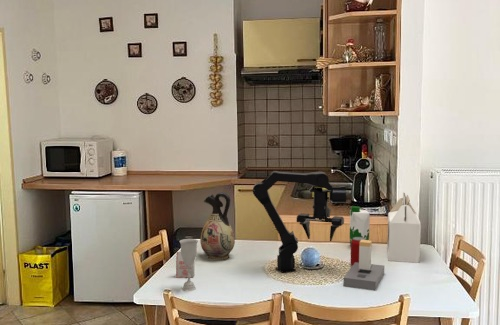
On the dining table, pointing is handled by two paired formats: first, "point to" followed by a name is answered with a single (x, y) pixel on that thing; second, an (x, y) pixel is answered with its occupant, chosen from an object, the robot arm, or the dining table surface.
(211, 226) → the ceramic jug
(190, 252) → the chalice
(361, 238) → the beverage can
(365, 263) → the plug
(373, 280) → the grey socket base
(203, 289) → the dining table surface
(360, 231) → the milk carton
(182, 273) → the white red printed box
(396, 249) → the gable box
